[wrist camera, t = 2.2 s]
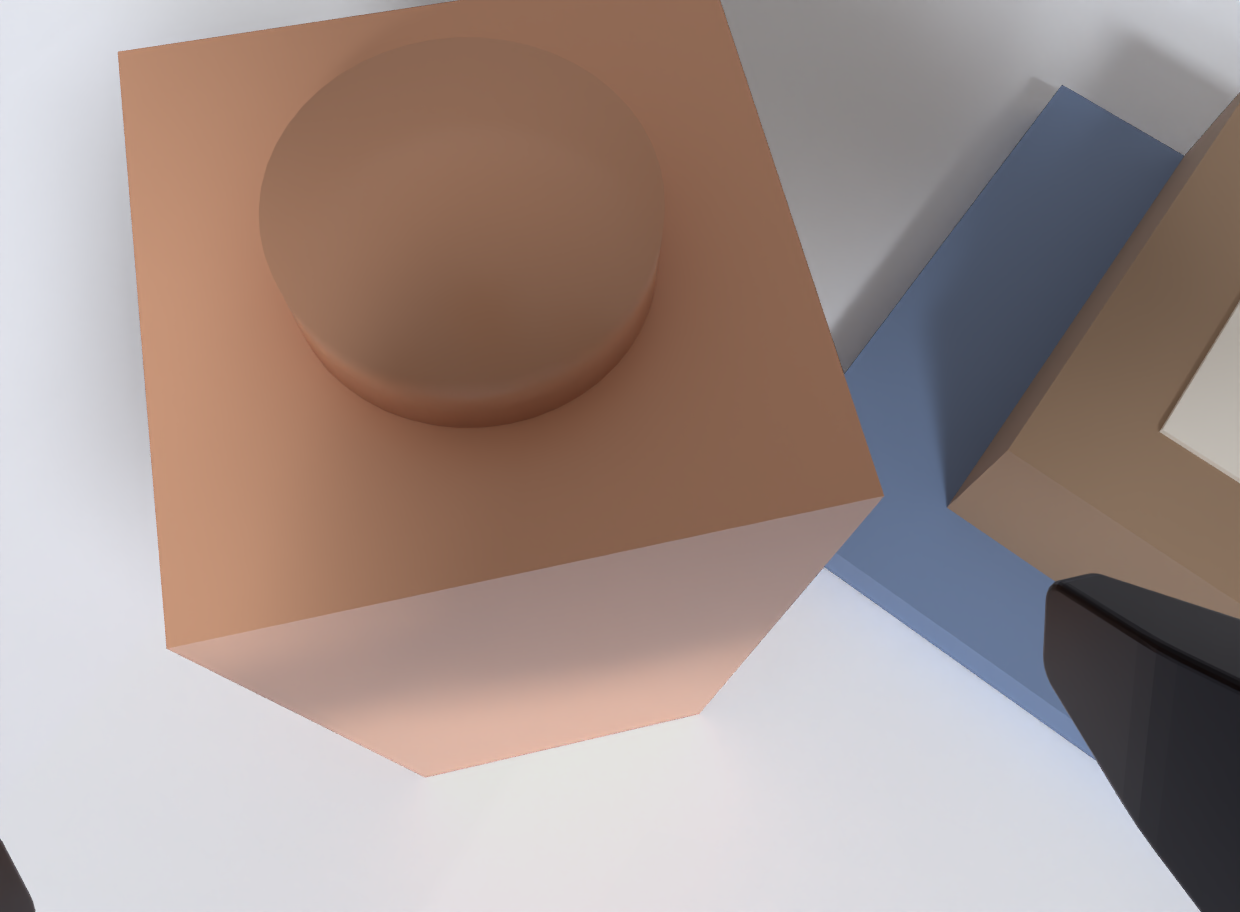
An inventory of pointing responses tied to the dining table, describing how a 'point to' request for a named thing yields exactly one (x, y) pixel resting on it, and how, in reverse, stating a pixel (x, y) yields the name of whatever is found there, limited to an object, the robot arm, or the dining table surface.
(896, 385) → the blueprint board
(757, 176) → the column
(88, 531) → the dining table surface
